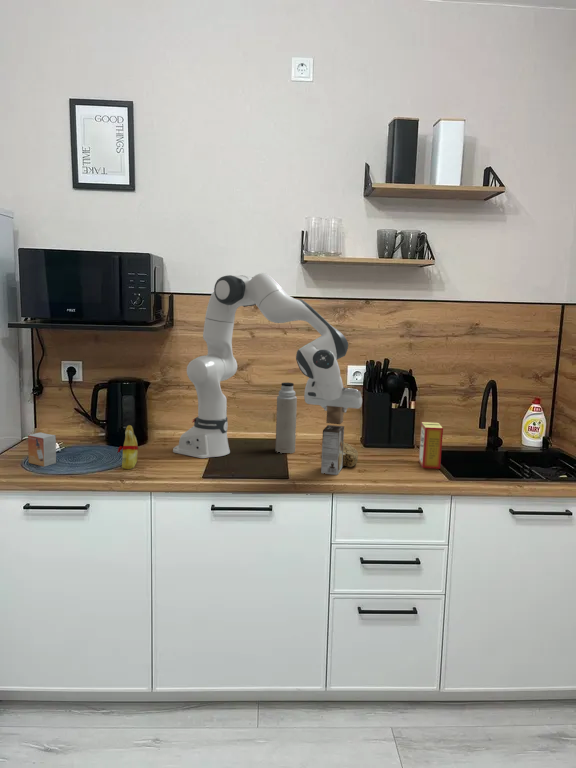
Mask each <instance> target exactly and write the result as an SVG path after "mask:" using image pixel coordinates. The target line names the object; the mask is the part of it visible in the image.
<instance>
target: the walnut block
mask: <svg viewBox="0 0 576 768" xmlns="http://www.w3.org/2000/svg"><path fill="white" fill-rule="evenodd" d="M325 422H326V424H329V425H342V423H343V422H344V412H342V407H335V406H327V411H326V421H325Z"/></svg>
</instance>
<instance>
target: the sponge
mask: <svg viewBox="0 0 576 768" xmlns="http://www.w3.org/2000/svg"><path fill="white" fill-rule="evenodd" d="M358 460H359V452H358V450H357V449H356V448H355V447H354V446H352V445H351V443H348V442H345V441H344V442H343V464H342V467H347V468H352V467H354V466H355V465H356V464H357V462H358Z"/></svg>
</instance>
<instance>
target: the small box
mask: <svg viewBox="0 0 576 768" xmlns="http://www.w3.org/2000/svg"><path fill="white" fill-rule="evenodd" d="M56 439H57V438H56V434H48V433H45V432H36V433H32V434H29V435H27V448H28V449H27V451H28V453H27V455H28V456H27V457H28V459H27V460H28V463H29V464H32V465H36V466H40V467H47V466H51V465H55V464H56V463H57V444H56V443H57V441H56Z"/></svg>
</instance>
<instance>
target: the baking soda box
mask: <svg viewBox="0 0 576 768" xmlns="http://www.w3.org/2000/svg"><path fill="white" fill-rule="evenodd" d="M443 433H444V428H443V426H442V425H441V423H439V422H433V421H432V422H430V421H421V422H420V437H419V438H420V439H419V451H418V452H419V453H418V462H419V464H420V466H421V468H422V469H437V470H440V469H441V464H442V463H441V462H442V448H443Z"/></svg>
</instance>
